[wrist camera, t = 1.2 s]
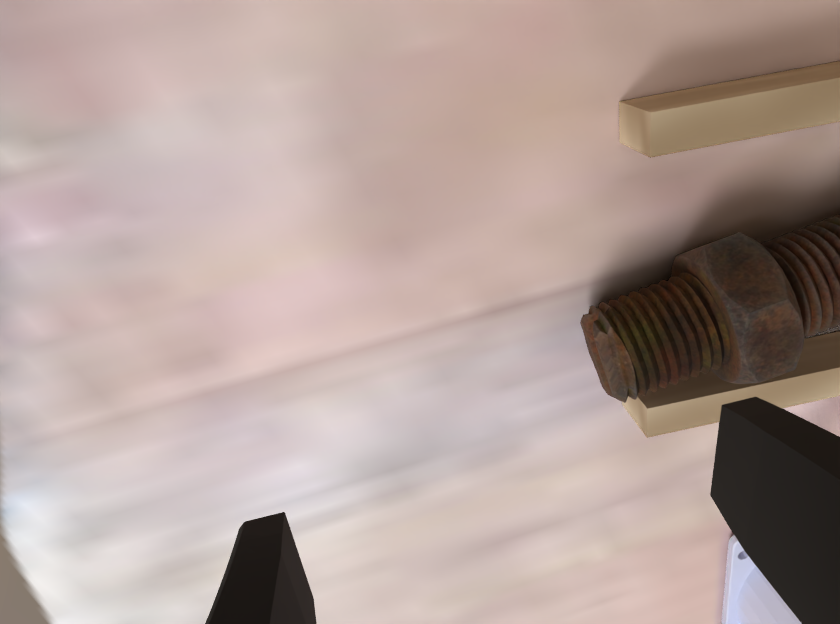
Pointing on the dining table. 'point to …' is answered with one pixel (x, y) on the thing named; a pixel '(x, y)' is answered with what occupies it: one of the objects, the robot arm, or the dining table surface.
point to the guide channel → (712, 125)
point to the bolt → (721, 313)
